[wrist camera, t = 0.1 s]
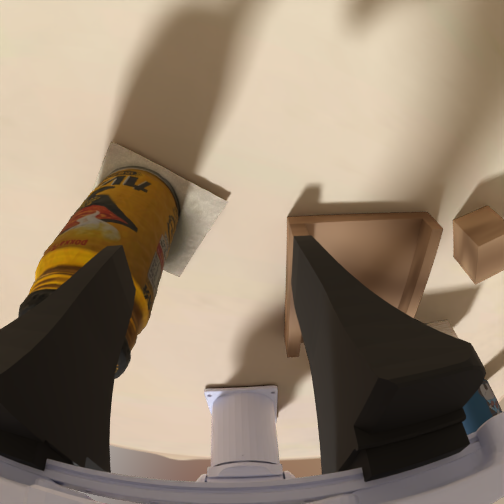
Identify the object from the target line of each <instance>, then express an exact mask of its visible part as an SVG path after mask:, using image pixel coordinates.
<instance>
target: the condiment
mask: <svg viewBox="0 0 504 504" xmlns="http://www.w3.org/2000/svg"><path fill="white" fill-rule="evenodd" d="M227 203H228V201H226V200H224V199H222V198H220V197H218V196H216V195H214V194H212V193H211V192H209V191H207V190H205V189H202V188H200V187H199V186H197V185H195V184H193V183H192V182H190V181H187V180H185V179H184V178H182V177H180V176H178V175H177V174H175V173H173V172H171V171H170V170H168V169H166V168H164V167H162V166H160V165H158V164H156V163H154V162H152V161H150V160H149V159H147V158H144V157H143V156H141V155H139V154H137V153H135V152H132V151H130V150H128V149H127V148H125V147H123V146H120V145H118V144H116V143H113V142H111V143H110V146H109V148H108V151H107V153H106V156H105V158H104V161H103V163H102V166H101V169H100V171H99V174H98V177H97V180H96V182H95V185H94V188H93V190H92V192H91V193H90V195H89V196H88V197H87V199H86V200H85V201H84V202H83V204H82V205H81V206H80V208H79V209H78V210H77V211H76V212H75V213H74V215H73V216H72V217H71V218H70V220H69V222H68V223H67V224H66V226H65V227H64V228H63V229H62V231H61V232H60V233H59V235H58V236H57V237H56V239H55V240H54V242H53V243H52V244H51V245H50V246H49V247H48V249H47V250H46V251H45V252H44V256H43V257H42V259H41V260H40V262H39V264H38V267H37V269H36V272H35V275H36V276H35V282H34V283H33V286H32V287H31V289H30V293H29V295H28V296H27V298H26V299H25V300H24V302H23V303H22V304H21V305H20V308H19V317H21V316H22V315H24V314H25V313H27V312H28V311H29V310H31V309H32V308H33V307H35V306H36V305H38V304H39V303H40V302H42V301H43V300H44V299H45V298H47V297H48V296H49V295H50V294H52V293H53V292H54V291H55V290H56V289H57V288H59V287H60V286H61V285H62V284H63V283H64V282H66V281H67V280H68V279H69V278H70V277H71V276H72V275H74V274H75V273H76V272H77V271H78V270H79V269H80V268H81V267H83V266H84V265H85V264H86V263H87V262H88V261H89V260H90V259H92V258H93V257H94V256H95V255H96V254H97V253H99V252H100V251H101V250H102V249H104V248H105V247H107V246H115V245H123V248H124V252H125V255H126V259H127V262H128V266H129V269H130V272H131V275H132V279H133V282H134V285H135V288H136V293H135V299H134V305H133V311H132V315H131V319H130V322H129V326H128V329H127V332H126V336H125V339H124V342H123V346H122V349H121V353H120V356H119V360H118V363H117V368H116V372H115V378H114V379H116V378H118V377H119V376H120V375H121V374H122V373H123V372H124V371H125V369H126V368H127V366H128V364H129V362H130V359H131V356H130V354H131V350H132V348H133V347H134V345H135V343H136V339H137V335H138V334H140V333H141V331H142V330H143V329H144V328H145V327H146V325H147V323H148V320H149V318H150V315H151V310H152V306H153V303H154V299H155V297H156V294H157V288H158V285H159V281H160V279H161V274H162V271H163V270H165V271H167V272H169V273H171V274H174V275H176V276H178V277H180V275H181V274H182V272H183V270H184V269H185V267H186V265H187V264H188V262H189V261H190V259H191V257H192V256H193V254H194V253H195V251H196V249H197V248H198V246H199V245H200V243H201V242H202V240H203V239H204V237H205V235H206V234H207V233H208V231H209V230H210V228H211V227H212V225H213V224H214V222H215V221H216V219H217V218H218V216H219V215H220V213H221V212H222V210H223V209H224V207H225V206H226V204H227ZM19 317H18V318H19Z"/></svg>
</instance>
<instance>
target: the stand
mask: <svg viewBox="0 0 504 504" xmlns="http://www.w3.org/2000/svg"><path fill="white" fill-rule="evenodd" d="M442 231H443V228H442V227H441V226H440V225H439V224H438V223H437V222H436V221H435V219H434V218H433V217H432V216H431V215H430V214H429V213H428V212H404V213H369V214H341V215H317V216H296V217H287V261H286V298H285V327H284V338H285V345H286V351H287V357H298V356H299V352H300V343H304V341H303V337H302V334H301V330H300V326H299V323H298V319H297V315H296V311H295V307H294V301H293V294H292V287H291V275H292V257H293V238H294V236H306V235H312V236H313V237H314V238H315V239H316V240H317V241H318V242H319V243H320V244H321V245H322V247H323V248H324V249H325V250H326V251H327V252H328V253H329V254H330V255H331V256H332V257H333V258H334V259H335V260H336V261H337V262H338V263H339V264H341V265H342V266H343V267H344V268H345V269H346V270H347V271H348V272H349V273H350V274H351V275H353V276H354V277H355V278H356V279H357V280H359V281H360V282H361V283H362V284H363V285H364V286H366V287H367V288H368V289H370V290H371V291H372V292H374V293H375V294H376V295H378V296H379V297H381V298H382V299H383V300H385V301H386V302H388V303H389V304H391V305H392V306H394V307H395V308H397V309H399V310H401V311H402V312H404V313H406V314H407V315H409V316H411V317H412V318H414V316H415V314H416V311H417V308H418V306H419V303H420V300H421V298H422V295H423V292H424V289H425V286H426V283H427V281H428V278H429V275H430V271H431V268H432V265H433V262H434V259H435V256H436V252H437V249H438V246H439V242H440V239H441V235H442Z"/></svg>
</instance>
